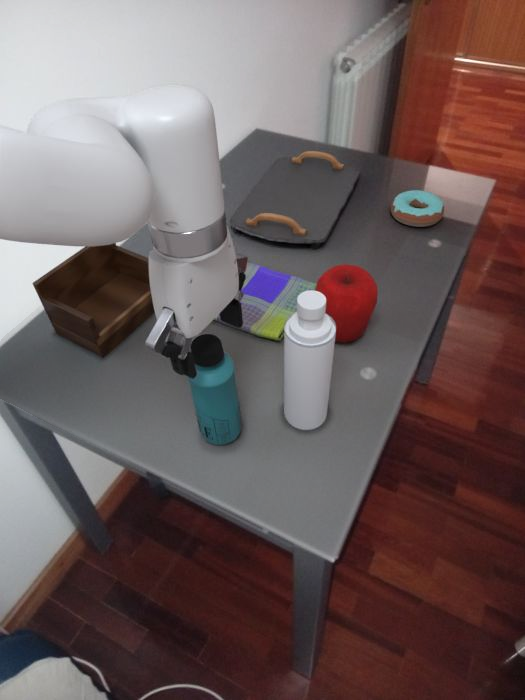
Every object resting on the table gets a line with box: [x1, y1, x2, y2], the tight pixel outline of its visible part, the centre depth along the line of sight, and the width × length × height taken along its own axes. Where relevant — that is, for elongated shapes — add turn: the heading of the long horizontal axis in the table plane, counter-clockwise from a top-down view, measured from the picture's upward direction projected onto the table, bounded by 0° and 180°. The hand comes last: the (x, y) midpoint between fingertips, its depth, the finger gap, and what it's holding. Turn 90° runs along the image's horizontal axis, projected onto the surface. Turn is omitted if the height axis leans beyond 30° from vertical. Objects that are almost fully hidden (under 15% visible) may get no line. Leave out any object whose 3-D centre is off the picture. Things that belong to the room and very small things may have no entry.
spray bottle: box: [283, 290, 336, 431], centre depth 68 cm, size 7×7×25 cm
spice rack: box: [32, 243, 155, 359], centre depth 89 cm, size 18×12×12 cm, turn 148°
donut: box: [390, 189, 445, 228], centre depth 112 cm, size 12×12×4 cm
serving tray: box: [228, 150, 362, 250], centre depth 116 cm, size 39×23×6 cm, turn 159°
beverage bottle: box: [186, 333, 243, 446], centre depth 67 cm, size 6×7×20 cm
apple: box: [315, 263, 379, 343], centre depth 84 cm, size 11×10×14 cm
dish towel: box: [213, 261, 317, 342], centre depth 95 cm, size 18×24×3 cm
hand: (209, 346), depth 61 cm, fingers open, 9 cm apart
